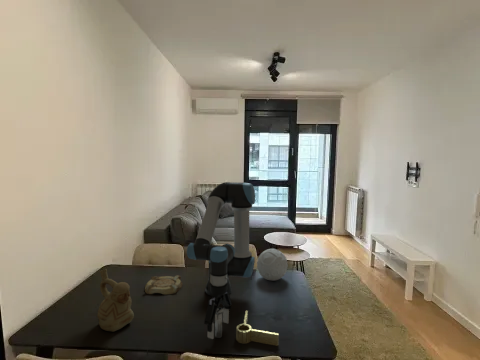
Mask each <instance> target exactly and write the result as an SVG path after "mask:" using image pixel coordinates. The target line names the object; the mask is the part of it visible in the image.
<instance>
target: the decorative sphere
mask: <svg viewBox="0 0 480 360" xmlns="http://www.w3.org/2000/svg"><path fill="white" fill-rule="evenodd" d="M288 267H289V266H288V259H287V257H286V256H285V254H284V253H283V252H282V251H280V250H279V249H276V248H268V249H265V250H264V251H262V252H261V253H260V254H259V255H258V258H257V261H256V269H257V271H258V274H259V275H260V276H261V277H262V278H263V279H265V280H268V281H272V282H273V281H278V280H280V279H282V278H283V277H284V276H285V275H286V273H287V271H288Z"/></svg>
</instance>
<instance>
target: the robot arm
mask: <svg viewBox="0 0 480 360" xmlns="http://www.w3.org/2000/svg"><path fill="white" fill-rule="evenodd" d="M226 203H227V204H231V207H230V208H232V209H233V244H231V243H225V244H222V245H221V244H220V245H218V244H211V243H212V240H213V236H214V233H215V231H216V228H217V223H218V221H219V216H220V215H221V214H220V213H221V210H222V208H224V206H225V204H226ZM255 203H256V191H255V186H254V185H253V184H252V183H248V182H233V181H231V182H229V181H226V182H221V183H219V184H218V185H217V186H215V187H214V189H212V191H211V192H210V194H208V198H207V206H206V210H205V212H204V215H203V218H202V220H201V224H200V226H199V230H198V232H197V236H196V239H195V241H194V242H190V243H189V244H188V245H187V248H186V255H187V258H188V259H190V260H194V261H208V279H207V281H206V286H205V293H206V295H208V296H210V297H212V298H211V299H210V298H209V299H208V300H207V306H206V311H205V312H206V313H205V317H204V321H203V325H205V326H207V327H206V328H207V331H206V332H207V338H208V339H211V340H213V339H214V338H215V323H214V322H215V314H216V311H217V308H219V307H220V305H222V306H223V307H222V308H223V313H222V323H225V324H229V320H230V319H229V318H230V315H229V314H230V313H229V312H230V311H229V310H231V309H232V300H231V296H230V294H231V293H232V285H231V282H230V280H229V279H230V278H229V277H237V278H251V277H252V274H253V272H254V269H255V262H256V260H255V259H256V258H255V257H254V256H253V254H252V252H251V251H250V210H251V209H252V207H253V205H255Z"/></svg>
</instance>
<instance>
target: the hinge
mask: <svg viewBox="0 0 480 360" xmlns="http://www.w3.org/2000/svg"><path fill="white" fill-rule="evenodd" d="M248 317H249V310H245V314H244V319H243V323H240V324H238V325H236V329H235V340H236V342H238V343H239V344H244V345H245V344H249V343H251V342H255V343H261V344H266V345H271V346H276V347H279V333H278V332H272V331H271V332H270V331H267V330H266V331H265V330H259V329H255V328H254V329H253V328H252V326H251V325H250V324H248V321H249V320H248V319H249V318H248Z"/></svg>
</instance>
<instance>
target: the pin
mask: <svg viewBox="0 0 480 360" xmlns="http://www.w3.org/2000/svg"><path fill="white" fill-rule="evenodd" d="M223 308H224V307H221V306H219V308H217V311H216V314H215V318H214V322H215V323H214V338H217V339H218V338H220V339H221V338H222V337H223Z"/></svg>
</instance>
